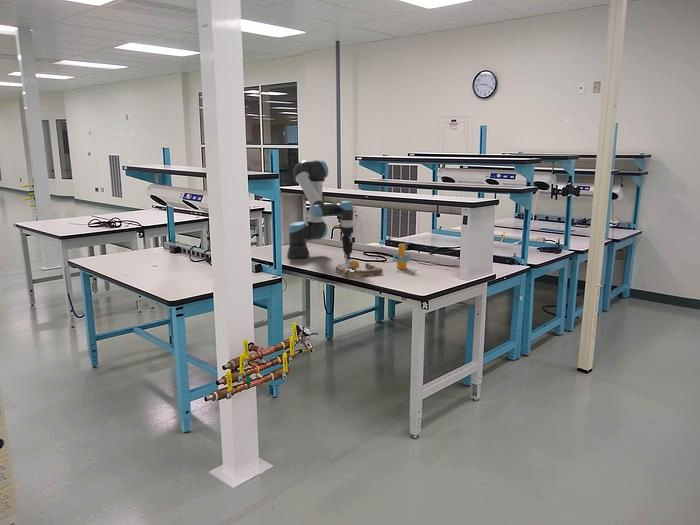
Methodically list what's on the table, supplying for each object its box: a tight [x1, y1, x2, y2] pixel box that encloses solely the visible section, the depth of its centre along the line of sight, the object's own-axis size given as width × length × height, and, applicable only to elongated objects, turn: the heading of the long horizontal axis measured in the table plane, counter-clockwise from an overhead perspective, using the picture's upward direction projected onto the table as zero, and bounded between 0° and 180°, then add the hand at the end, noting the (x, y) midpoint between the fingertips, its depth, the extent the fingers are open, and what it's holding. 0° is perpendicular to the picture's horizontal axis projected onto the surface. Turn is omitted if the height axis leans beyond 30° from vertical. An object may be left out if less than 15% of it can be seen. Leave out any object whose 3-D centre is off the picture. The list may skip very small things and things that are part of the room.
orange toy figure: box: [392, 243, 412, 270], centre depth 322 cm, size 12×10×15 cm
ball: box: [349, 260, 360, 270], centre depth 320 cm, size 6×6×6 cm
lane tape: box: [336, 262, 360, 269], centre depth 324 cm, size 30×8×1 cm, turn 24°
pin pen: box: [335, 262, 384, 278], centre depth 315 cm, size 19×22×3 cm
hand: (347, 263), depth 329 cm, fingers closed
